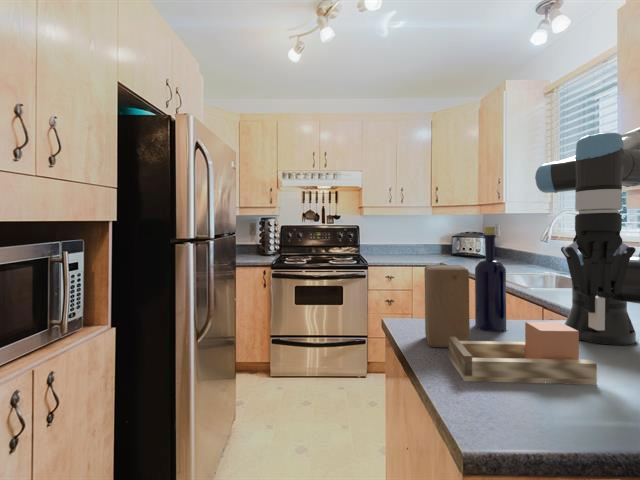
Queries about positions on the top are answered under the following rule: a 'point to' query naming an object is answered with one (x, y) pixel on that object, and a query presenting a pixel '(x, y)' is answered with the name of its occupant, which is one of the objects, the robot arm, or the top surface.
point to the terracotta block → (551, 341)
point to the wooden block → (446, 304)
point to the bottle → (490, 289)
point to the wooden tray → (515, 364)
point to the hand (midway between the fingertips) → (596, 328)
